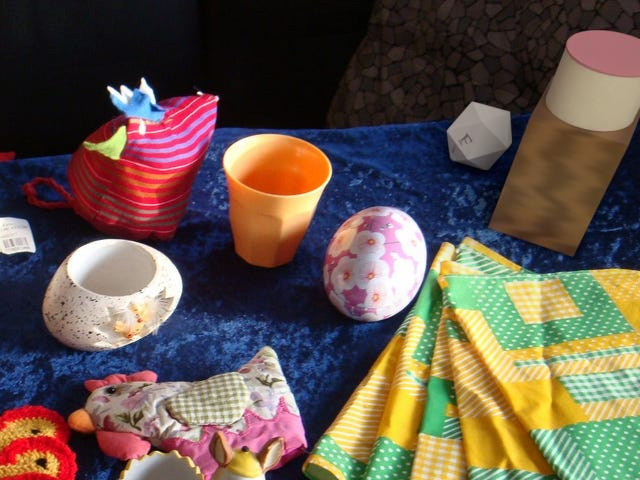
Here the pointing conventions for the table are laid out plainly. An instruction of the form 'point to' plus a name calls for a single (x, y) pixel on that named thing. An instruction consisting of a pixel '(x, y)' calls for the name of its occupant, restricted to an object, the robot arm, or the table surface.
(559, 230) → the brown piece
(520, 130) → the table surface
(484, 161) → the die
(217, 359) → the table surface
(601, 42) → the yogurt
